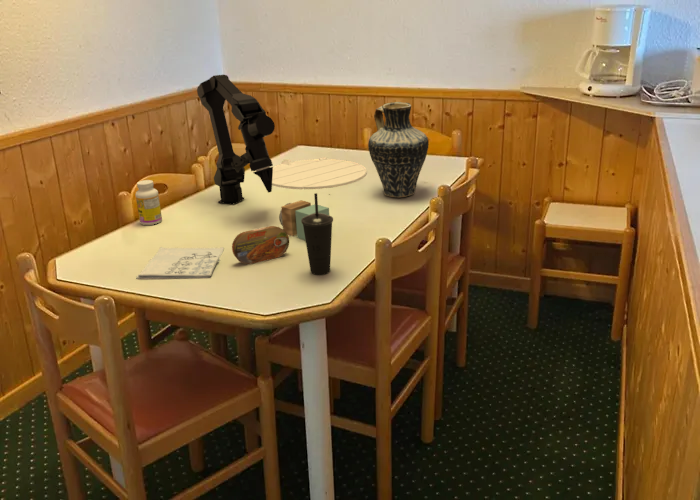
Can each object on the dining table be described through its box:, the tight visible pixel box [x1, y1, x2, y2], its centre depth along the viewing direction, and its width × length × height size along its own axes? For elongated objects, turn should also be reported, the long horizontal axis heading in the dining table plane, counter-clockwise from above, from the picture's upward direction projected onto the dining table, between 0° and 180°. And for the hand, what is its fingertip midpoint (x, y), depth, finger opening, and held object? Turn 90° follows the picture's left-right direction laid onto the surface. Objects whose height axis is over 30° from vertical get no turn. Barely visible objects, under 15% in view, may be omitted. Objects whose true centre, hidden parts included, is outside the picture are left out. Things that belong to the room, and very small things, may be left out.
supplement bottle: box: [135, 179, 163, 226], centre depth 200 cm, size 7×7×13 cm
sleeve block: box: [280, 200, 311, 237], centre depth 189 cm, size 4×8×8 cm, turn 136°
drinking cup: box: [301, 193, 334, 276], centre depth 159 cm, size 8×8×20 cm
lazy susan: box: [272, 156, 367, 190], centre depth 247 cm, size 40×39×3 cm
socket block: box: [295, 203, 330, 242], centre depth 184 cm, size 6×8×8 cm
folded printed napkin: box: [135, 246, 225, 280], centre depth 171 cm, size 19×20×2 cm
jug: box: [367, 101, 429, 198], centre depth 214 cm, size 21×19×30 cm
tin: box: [231, 225, 290, 265], centre depth 170 cm, size 15×3×8 cm, turn 117°
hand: (269, 192), depth 196 cm, fingers closed
